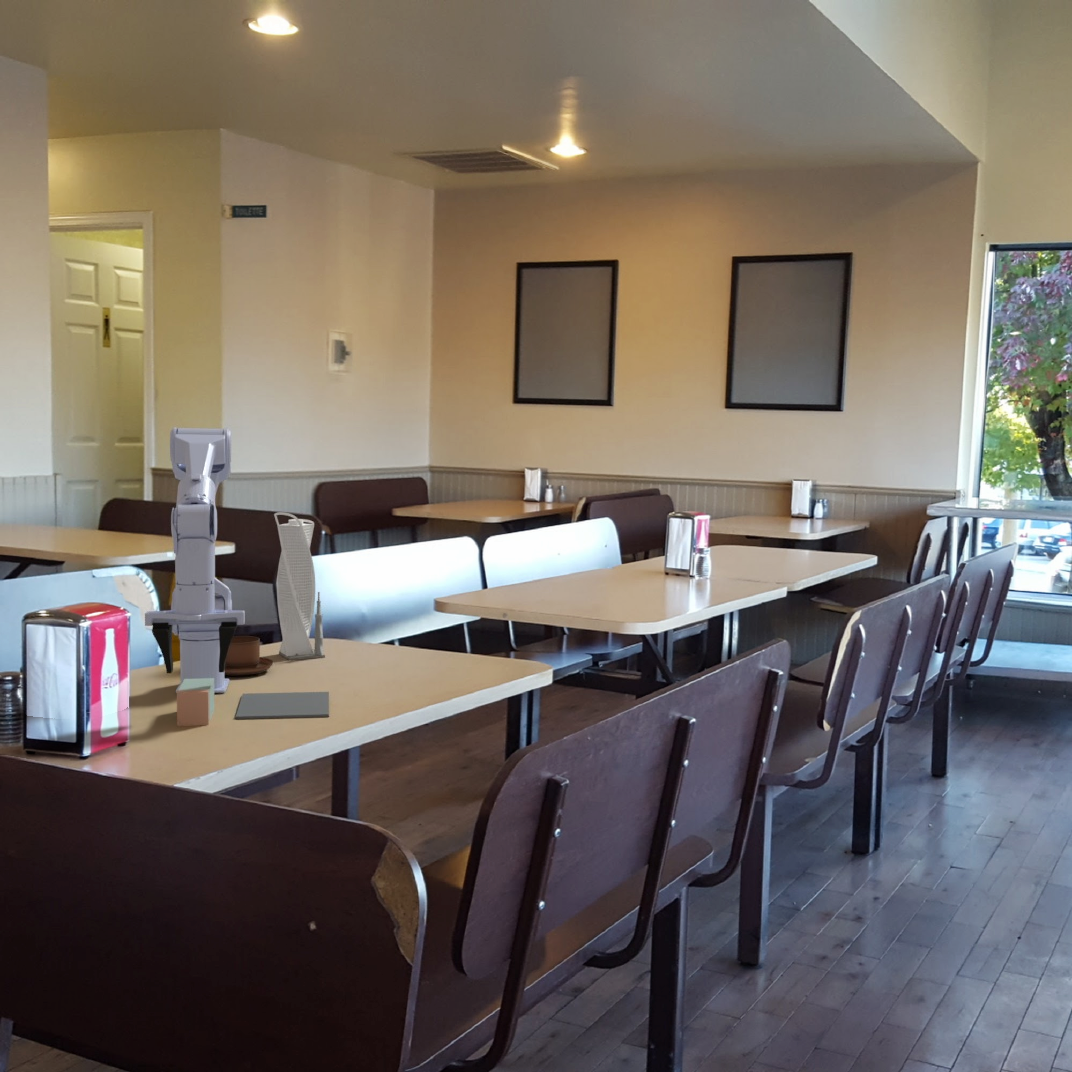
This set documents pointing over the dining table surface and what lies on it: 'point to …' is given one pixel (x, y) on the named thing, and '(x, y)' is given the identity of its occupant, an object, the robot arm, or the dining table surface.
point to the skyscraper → (297, 591)
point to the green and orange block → (195, 702)
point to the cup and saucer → (245, 657)
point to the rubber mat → (283, 705)
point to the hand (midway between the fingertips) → (195, 671)
